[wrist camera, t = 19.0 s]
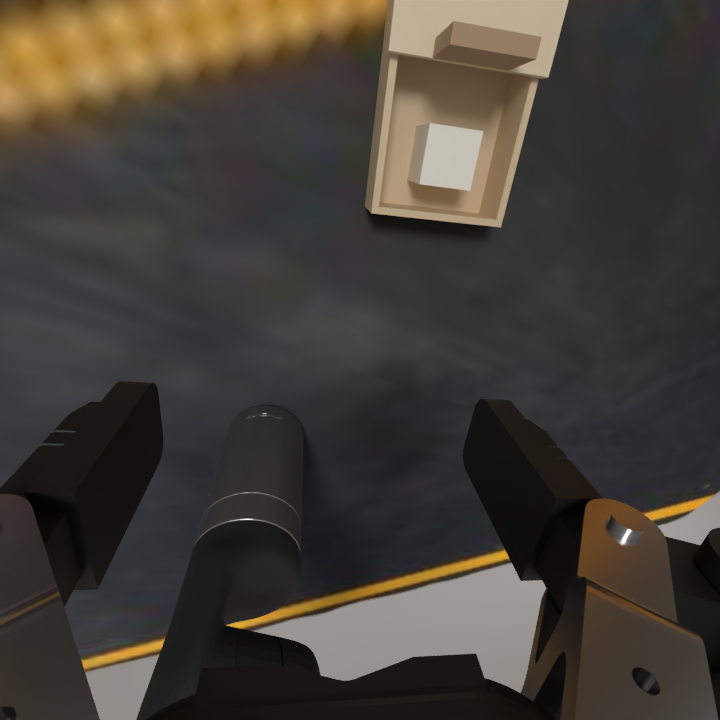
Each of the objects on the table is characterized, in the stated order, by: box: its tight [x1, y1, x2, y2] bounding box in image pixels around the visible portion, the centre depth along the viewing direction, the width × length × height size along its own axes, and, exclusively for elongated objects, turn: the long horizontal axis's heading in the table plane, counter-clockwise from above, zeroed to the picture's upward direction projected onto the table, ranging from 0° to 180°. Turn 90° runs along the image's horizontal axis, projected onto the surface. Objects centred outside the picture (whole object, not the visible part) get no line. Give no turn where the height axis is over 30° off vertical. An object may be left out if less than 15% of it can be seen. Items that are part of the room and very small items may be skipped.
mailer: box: [365, 0, 539, 227], centre depth 35 cm, size 18×12×5 cm, turn 173°
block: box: [407, 123, 483, 191], centre depth 36 cm, size 4×4×5 cm
